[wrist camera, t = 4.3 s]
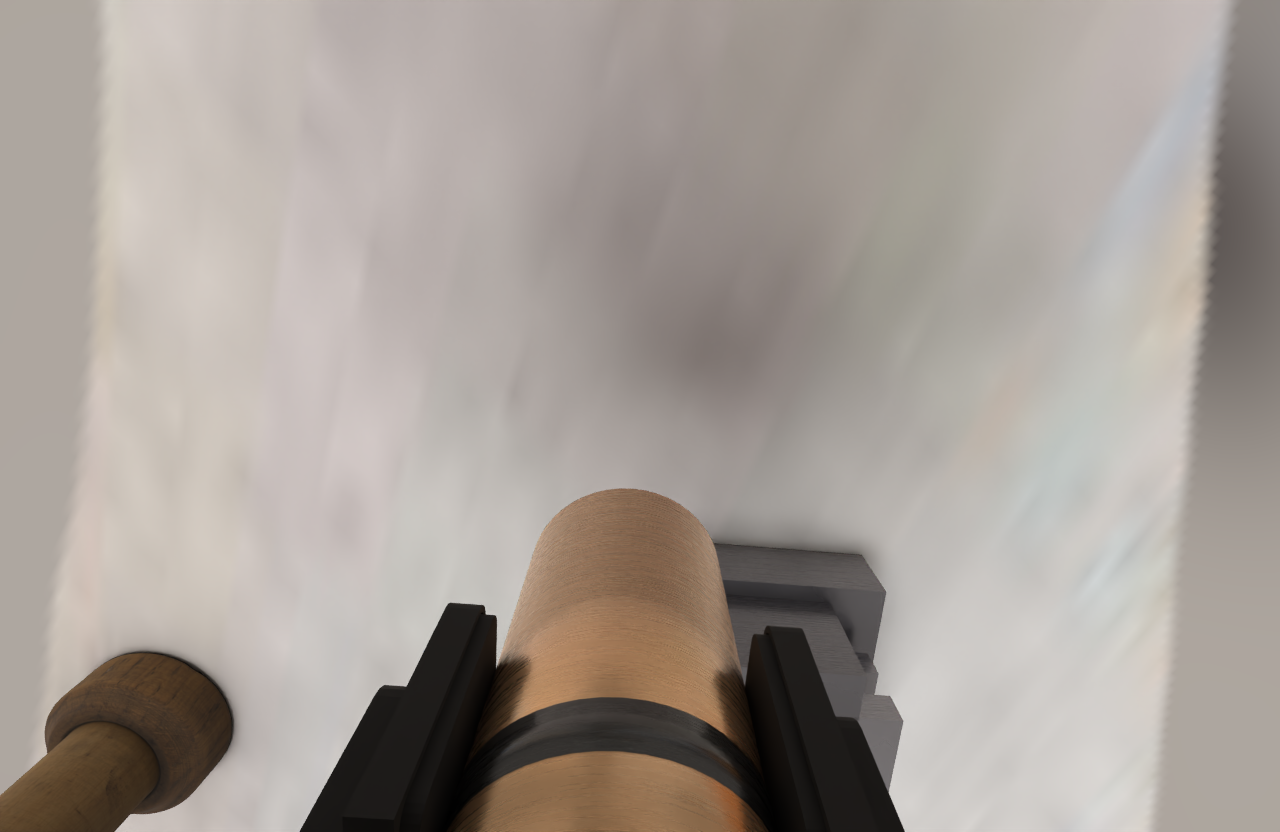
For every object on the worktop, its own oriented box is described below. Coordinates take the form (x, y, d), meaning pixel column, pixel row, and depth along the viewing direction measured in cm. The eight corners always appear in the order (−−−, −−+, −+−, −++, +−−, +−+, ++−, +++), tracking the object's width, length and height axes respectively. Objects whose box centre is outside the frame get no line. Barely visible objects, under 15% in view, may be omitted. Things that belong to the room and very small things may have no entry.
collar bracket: (619, 536, 28) (609, 639, 21) (861, 555, 28) (934, 664, 21) (602, 759, 31) (589, 918, 24) (822, 775, 31) (875, 939, 24)
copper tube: (533, 480, 14) (179, 1352, 3) (730, 495, 14) (1000, 1393, 3) (528, 649, 15) (253, 1686, 4) (709, 662, 15) (860, 1714, 5)
